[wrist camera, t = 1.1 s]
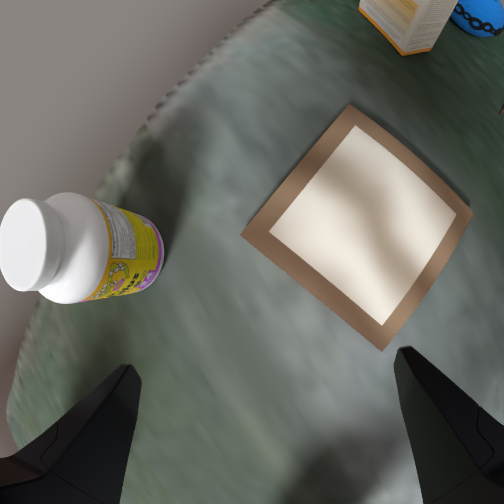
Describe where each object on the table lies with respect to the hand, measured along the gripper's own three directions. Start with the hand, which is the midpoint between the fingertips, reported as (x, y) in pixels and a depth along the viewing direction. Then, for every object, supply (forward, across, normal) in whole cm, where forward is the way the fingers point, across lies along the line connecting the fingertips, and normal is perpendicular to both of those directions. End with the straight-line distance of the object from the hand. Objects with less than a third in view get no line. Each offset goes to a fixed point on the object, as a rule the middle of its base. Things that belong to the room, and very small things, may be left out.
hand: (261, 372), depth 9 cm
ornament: (+28, -28, -19) cm, 44 cm away
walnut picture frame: (+15, -8, +2) cm, 17 cm away
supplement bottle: (+15, +12, +2) cm, 19 cm away
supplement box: (+26, -16, -16) cm, 34 cm away
